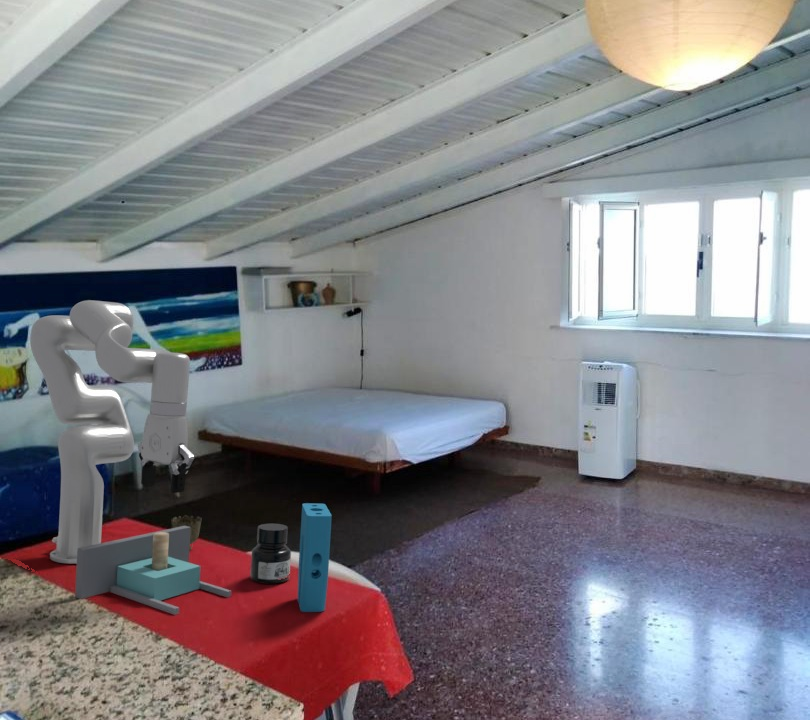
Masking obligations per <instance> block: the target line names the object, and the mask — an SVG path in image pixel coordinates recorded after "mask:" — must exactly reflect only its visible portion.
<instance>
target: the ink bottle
mask: <svg viewBox="0 0 810 720" xmlns="http://www.w3.org/2000/svg"><path fill="white" fill-rule="evenodd" d="M288 531H289V527H288V526H287V525H285V524H282V523H281V524H280V523H262V524H260V525H259V524H258V526H257V533H256V534H257V535H256V542H257V544H256V546H255V547H253V548H252V550H251V557H250V558H251V561H250V574H249V575H250V579H251V580H252V581H254V582H256V583H259V584H265V585H266V584H267V585H274V584H281V583H284V582H286V581H289V580H290V576H291V559H292V557H291V556H292V552H291V549H290V548H289V547H288V545H286V544H288ZM289 574H290V576H289V577H287V576H288V575H289ZM285 577H287V578H285ZM283 578H285V579H283ZM278 579H281V580H278Z"/></svg>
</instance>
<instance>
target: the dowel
mask: <svg viewBox="0 0 810 720" xmlns="http://www.w3.org/2000/svg"><path fill="white" fill-rule="evenodd" d="M168 546H169V533H166V532H158V533H154V534H153V551H152V569H153V570H156V571H160V570H164V569H167V564H168Z"/></svg>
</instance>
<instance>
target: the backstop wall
mask: <svg viewBox="0 0 810 720" xmlns="http://www.w3.org/2000/svg"><path fill="white" fill-rule="evenodd" d="M158 532H166V533H169V546H168V557H171V558H175V559H178V560H182V561H185V562H188V563H190V551H191V549H190V532H191V527H188V526H181V527H176V528H172V527H171V528H168V529H167V528H166V529H163V530H159V531H157V530H156V531H153V532H148V533H143V534H140V535H139V534H138V535H134V536H129V537H124V538H120V539H115V540H110V541H105V542H101V543H100V544H95V545H90V546H85V547H81V548H78V550H77V564H76V570H75V573H76V574H75V591H74V597H75V598H77V599H80V600H83V599H86V598H90V597H94V596H97V595H102V594H105V593H108V592H109V593H112V594H115V595H118V596H120V597H124V598H126V599H129V600H132V601H134V602H137V603H140V604H142V605H146V606H149V607H151V608H154V609H157V610H160V611H163V612H166V613H168V614H172V615H179V613H180V607H179V606H176V605H173V604H172V603H171V604H170V603H167V602H165V601H163V600H160V601H159V600H156V599H153V598H150V597H147V596H144V595H142V594H139V593H136V592H133V591H130V590H127V589H124V588H121V587H118V586H117V568H118V566H121V565H125V564H129V563H133V562H137V561H141V560H146V559H150V558H152V551H153V534H154V533H158ZM199 589H200V590H203V591H206V592H209V593H213V594H216V595H219V596H223V597H225V598H230V597H231V596H232V590H231V589H230V590H229V589H227V588H224V587H221V586H218V585H214V584H211V583H208V582H204V581H201V580H200V585H199ZM199 589H198V590H199Z"/></svg>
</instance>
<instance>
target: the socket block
mask: <svg viewBox="0 0 810 720" xmlns="http://www.w3.org/2000/svg"><path fill="white" fill-rule="evenodd" d="M201 568H202V567H201V565H199V564H195V563H192V562H189V563H188V562H185V561H182V560H178V559H175V558H171V557H168V564H167V569H164V570H160V571H156V570H153V569H152V558H150V559H146V560H141V561H137V562H133V563H129V564H125V565H121V566H118V568H117V586H118V587H121V588H124V589H127V590H130V591H133V592H136V593H139V594H142V595H144V596H147V597H150V598H153V599H156V600H159V601H163V600H167V599H170V598H173V597H177V596H180V595H183V594H186V593H190V592H193V591H196V590H199V585H200V581H201Z"/></svg>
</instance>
